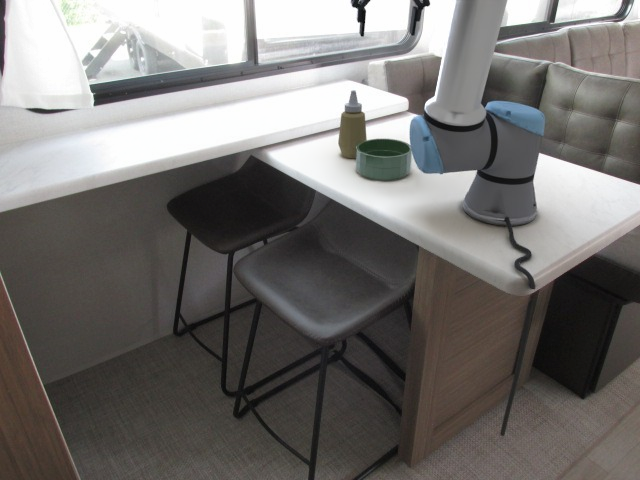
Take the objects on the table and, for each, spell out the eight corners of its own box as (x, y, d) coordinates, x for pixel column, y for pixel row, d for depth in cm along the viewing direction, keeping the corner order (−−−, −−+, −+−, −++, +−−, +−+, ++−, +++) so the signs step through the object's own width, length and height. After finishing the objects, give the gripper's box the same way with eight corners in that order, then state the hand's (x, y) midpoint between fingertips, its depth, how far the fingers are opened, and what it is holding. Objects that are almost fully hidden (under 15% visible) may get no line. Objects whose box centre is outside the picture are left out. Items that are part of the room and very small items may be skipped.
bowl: (420, 177, 130) (422, 153, 127) (369, 185, 126) (369, 160, 123) (395, 158, 142) (396, 136, 138) (347, 165, 138) (348, 142, 135)
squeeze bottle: (368, 151, 147) (371, 87, 138) (363, 161, 140) (365, 95, 131) (341, 149, 149) (341, 86, 140) (335, 159, 142) (335, 93, 133)
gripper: (443, -61, 125) (428, 28, 139) (342, -61, 122) (338, 29, 137) (452, -53, 120) (436, 38, 134) (347, -53, 117) (342, 40, 131)
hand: (386, 34), depth 135 cm, fingers open, 13 cm apart
